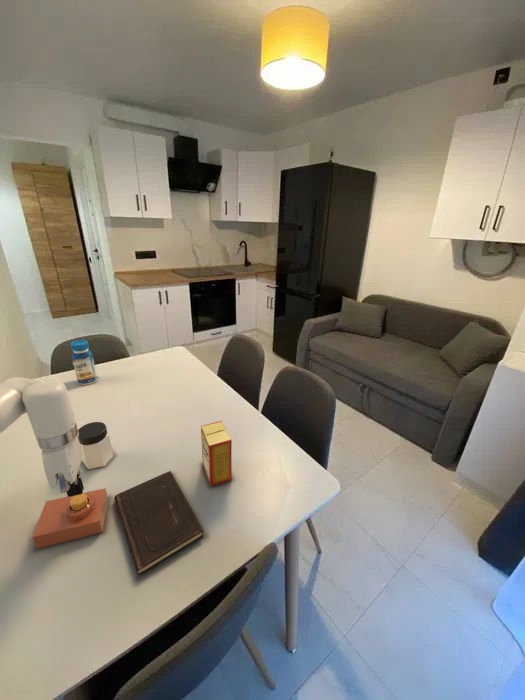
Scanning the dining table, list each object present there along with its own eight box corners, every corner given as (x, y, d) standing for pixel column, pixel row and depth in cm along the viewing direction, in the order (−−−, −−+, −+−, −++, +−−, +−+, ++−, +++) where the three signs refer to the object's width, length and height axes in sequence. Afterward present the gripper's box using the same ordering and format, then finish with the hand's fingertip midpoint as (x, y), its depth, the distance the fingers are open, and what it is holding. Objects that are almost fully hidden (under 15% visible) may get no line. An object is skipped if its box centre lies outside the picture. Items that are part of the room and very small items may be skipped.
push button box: (36, 548, 69) (29, 532, 66) (50, 512, 77) (44, 496, 75) (102, 532, 73) (98, 515, 71) (108, 498, 82) (104, 483, 79)
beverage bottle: (101, 378, 142) (94, 340, 134) (88, 386, 134) (79, 347, 126) (87, 375, 143) (78, 338, 135) (73, 383, 136) (63, 344, 128)
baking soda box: (231, 479, 90) (231, 439, 83) (210, 486, 87) (209, 445, 80) (222, 458, 97) (221, 419, 91) (202, 464, 95) (200, 424, 88)
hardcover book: (171, 475, 90) (170, 470, 89) (203, 536, 73) (203, 530, 72) (115, 501, 81) (113, 495, 80) (137, 577, 64) (136, 570, 63)
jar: (115, 447, 100) (109, 419, 95) (112, 465, 93) (105, 435, 88) (85, 453, 97) (77, 424, 92) (80, 471, 90) (71, 441, 85)
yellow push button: (69, 512, 71) (68, 507, 71) (73, 500, 74) (71, 494, 74) (86, 509, 72) (84, 503, 72) (89, 497, 76) (87, 491, 75)
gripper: (48, 416, 70) (66, 473, 77) (24, 462, 57) (48, 524, 64) (84, 411, 72) (98, 467, 79) (68, 454, 59) (87, 515, 66)
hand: (76, 492), depth 72 cm, fingers closed
